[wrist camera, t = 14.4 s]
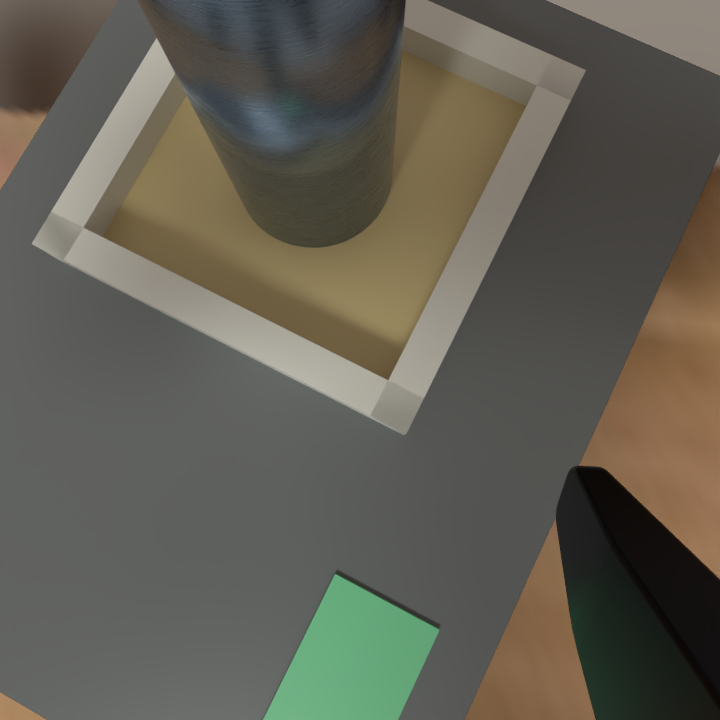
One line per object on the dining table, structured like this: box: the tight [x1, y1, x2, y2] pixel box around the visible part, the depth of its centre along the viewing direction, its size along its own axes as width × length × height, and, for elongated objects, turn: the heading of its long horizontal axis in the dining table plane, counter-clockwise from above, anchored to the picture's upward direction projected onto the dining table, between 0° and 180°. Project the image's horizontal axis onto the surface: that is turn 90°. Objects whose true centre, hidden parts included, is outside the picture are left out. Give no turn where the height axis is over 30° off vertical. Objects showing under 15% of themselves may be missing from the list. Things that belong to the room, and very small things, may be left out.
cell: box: [137, 0, 406, 248], centre depth 11 cm, size 4×4×12 cm
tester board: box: [0, 0, 720, 720], centre depth 17 cm, size 24×18×3 cm
